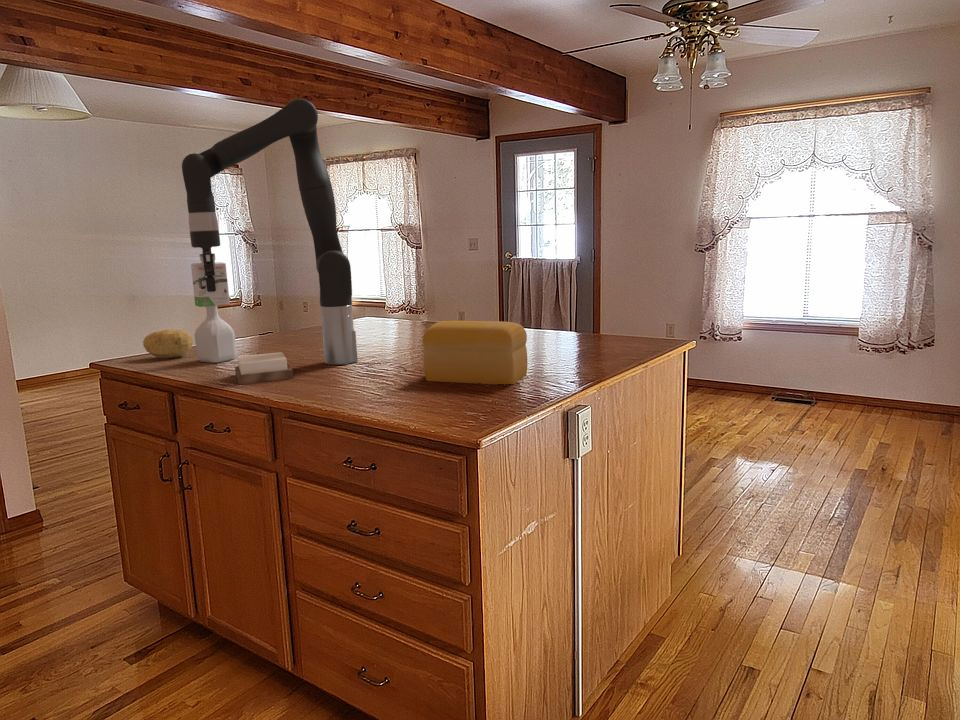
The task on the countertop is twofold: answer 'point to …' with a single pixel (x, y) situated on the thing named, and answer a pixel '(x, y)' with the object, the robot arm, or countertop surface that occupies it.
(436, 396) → the countertop surface
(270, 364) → the cream slab
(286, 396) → the countertop surface
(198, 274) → the ink box
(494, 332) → the bread
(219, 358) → the soap bottle
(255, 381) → the walnut slab
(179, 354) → the potato
